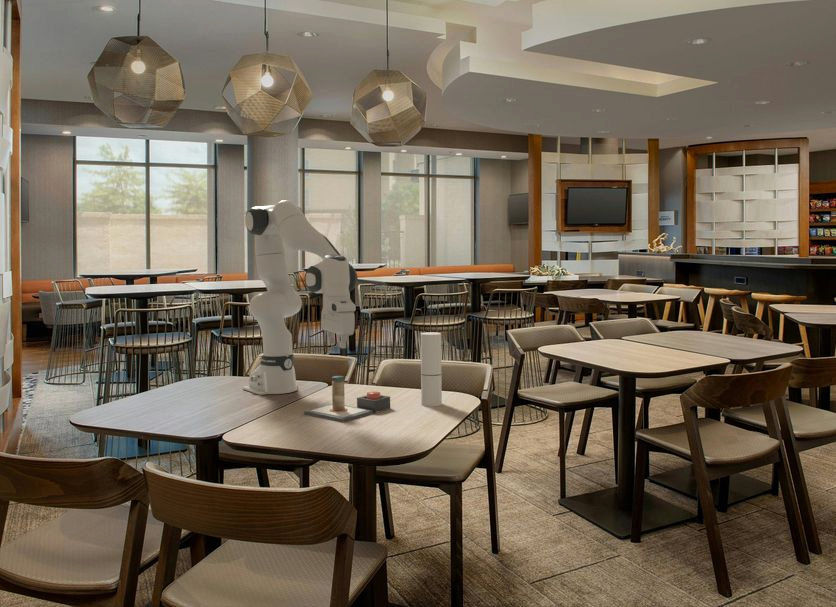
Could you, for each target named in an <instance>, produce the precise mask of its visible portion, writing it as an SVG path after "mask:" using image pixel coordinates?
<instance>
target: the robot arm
mask: <svg viewBox="0 0 836 607" xmlns="http://www.w3.org/2000/svg"><path fill="white" fill-rule="evenodd" d="M244 219H245V220H244V221H245V227H246V230H247V231H248V232H249V233H250V235H254V253H255V254H254V255H255V263H256V271H257V276H258V278H259V280H261V281H262V283H263V284H264V286H265V287H266V290H267V291H262V292H260V293H258V294H256V295H254V296H252V298H251V300H250V301H249V311H250V314H251V316H252V317H253V318H255V320H256V321H257V323H258V326H259V329H260V331H261V337H262V355H261V356H259V360H260V364H259V365H258V366H257V367H256V368H255V369H254V370H253V371H252V372H251V373H250V374H249V377H248V384H246V385H244V386H243V387H242V390H244V391H248V392H250V393H253V394H257V395H259V396H260V395H261V396H262V395H280V394H283V395H284V394H288V393H293V392H296V391H298V387H299V384H298V383H297V379H296V378H297V377H296V371H295V370H296V369H295V367H294V362H295V361H294V359H295V357H294V353H293V334H292V333H291V332H290V330H288V327H287V325H286V323H285V318H291V317H293V316H294V315H296V314H297V313H299V312H300V311H301V309H302V306H303V301H302V297H301V295H300V294H299V293H298V292H297V291H296V290H295V288H294V286H293V284H292V282H291V279H290V276H289V273H288V269H287V268H288V267H287V263H286V262H287V261H286V254H285V248H284V247H285V246H284V244H286V245H287V246H288V247H289V248H291V249H294V250H297V251H301V252H302V251H303V252H306V253H311V254H313V255H317V256H318V257H320V258H321V259H322V260H321V261H320V262H318V263H315V264H314V265H311V266H309V267H308V268H307V269H306V271H305V273H304V274H305V275H304V284H305V287H306V288H307V290H309V292H311V293H315V294H322V310H321V318H320V326H321V327H320V328H321V330H323V331H326V336H327V340H328V345H331V346H333V345H335V344H336V339H335V337H334V334H337V335H339V338H340V342H339V344H338V345H339V348H340V349H346V348H347V342H348V339H349V336H353V335H354V333H355V324H356V322H355V321H356V319H355V311H356V310H357V308H356V307H357V306H356V304H355V303H354V302H353V301H352V299H351V294H350V293H351V292H352V291H353V290H354V288H356V285H357V284H358V280H359V279H358V273H357V271H356V269H355V268H354V267H353V265H352V264H351V263H349V261H348V259H347V257H346V256H343V255H341V253H340V252H339V251H338V250H337V248H336V247H335V246H334V245H333V243H332V242H331V241H330V240H329V239H328V238H327V237H326V236H325V235H324V234H323V233H321V232H319V231H318V229H316V228H315V227H314V226H313V225H312V224H311V223H310V222H309V220H308V219H307V216H305V214H304V212H303V209H302V208H301V207H300V206H298V205H297V204H296V203H295V202H294V201H291V200H289V199H285V200H281V201H279V202H277V203H276V204H273V205H272V204H271V205H263V206H261V205H260V206H259V205H258V206H253V207H250V208H248V210H247V211H246V212H245V218H244Z"/></svg>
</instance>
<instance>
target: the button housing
mask: <svg viewBox="0 0 836 607" xmlns="http://www.w3.org/2000/svg"><path fill="white" fill-rule="evenodd" d="M356 407H357V408H362V409H368V410H373V414H374V413H375V414H376V413H378V412H383V411H386V410H388V409H391V396H388V395H383V394H380V398H379V399H376V400H372V399H367V394H366V395H363V396H359V397H357V398H356ZM382 410H383V411H382Z"/></svg>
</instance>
